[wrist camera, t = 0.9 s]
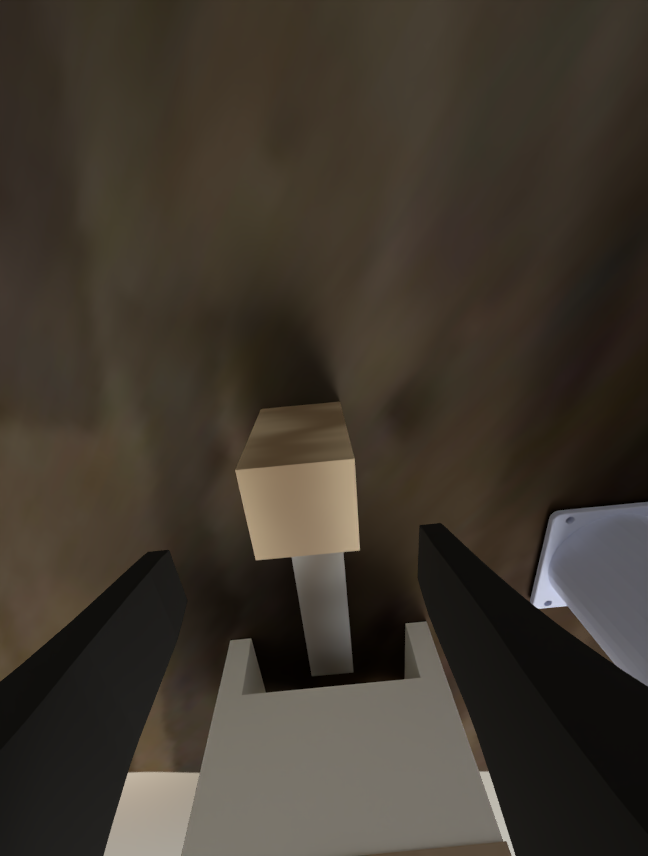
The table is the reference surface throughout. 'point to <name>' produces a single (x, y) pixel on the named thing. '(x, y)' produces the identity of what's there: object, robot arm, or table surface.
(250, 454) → the wooden and grey bar
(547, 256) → the table surface
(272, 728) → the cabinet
